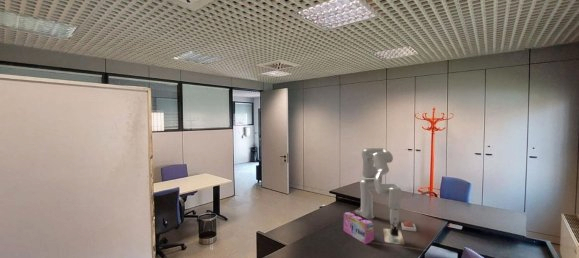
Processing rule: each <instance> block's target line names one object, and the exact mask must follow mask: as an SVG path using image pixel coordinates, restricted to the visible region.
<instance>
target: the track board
mask: <svg viewBox="0 0 579 258" xmlns="http://www.w3.org/2000/svg"><path fill="white" fill-rule="evenodd" d="M382 230H383V239H384V242H385V244H387V243H388V244H389V243H391V244H395V245H397V244H398V245H405V242H404V241H405V240H404V238H403V234H402V230H400V229H399V233H398V236H392V235H391V234H390V228H382Z"/></svg>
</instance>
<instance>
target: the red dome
mask: <svg viewBox="0 0 579 258" xmlns="http://www.w3.org/2000/svg"><path fill="white" fill-rule="evenodd" d="M404 223H405V226H404V227H412V224H413V223H412V222H411V220H406V221H405V222H404ZM412 228H413V227H412Z"/></svg>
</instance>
